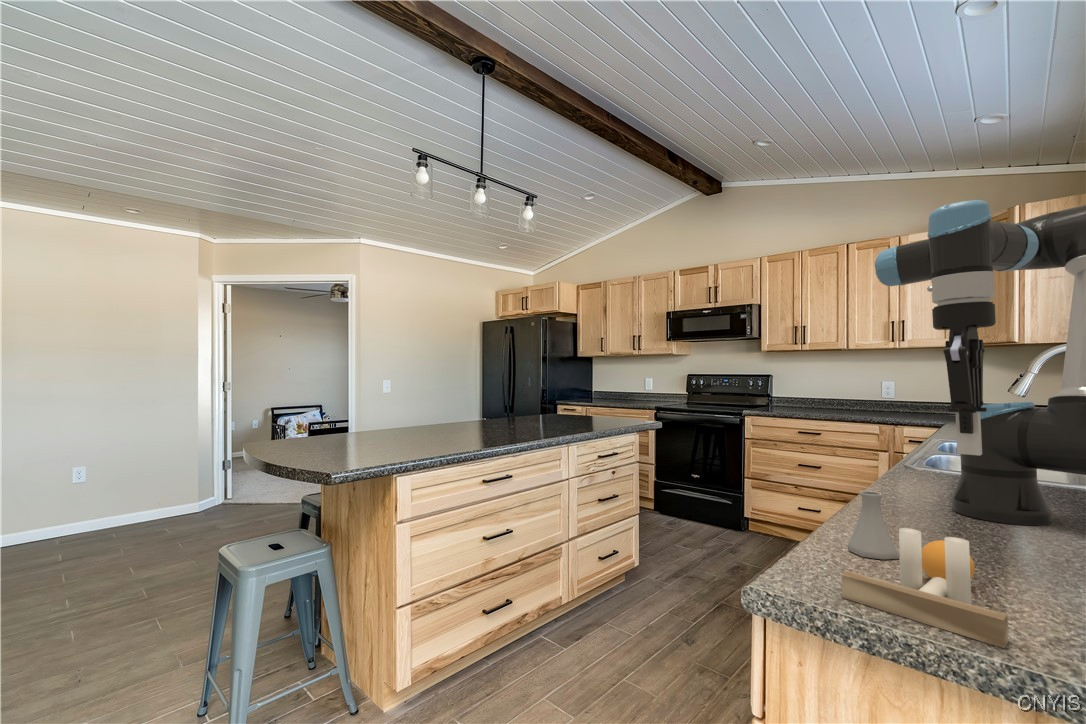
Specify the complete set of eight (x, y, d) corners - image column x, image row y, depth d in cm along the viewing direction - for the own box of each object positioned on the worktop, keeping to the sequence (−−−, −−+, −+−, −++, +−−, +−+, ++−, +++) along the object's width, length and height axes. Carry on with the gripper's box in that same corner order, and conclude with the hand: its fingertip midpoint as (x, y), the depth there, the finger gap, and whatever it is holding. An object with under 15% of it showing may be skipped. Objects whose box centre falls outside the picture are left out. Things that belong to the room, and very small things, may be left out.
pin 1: (903, 589, 68) (902, 526, 69) (925, 595, 66) (923, 531, 67) (898, 594, 67) (896, 530, 67) (919, 600, 65) (917, 534, 65)
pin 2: (949, 601, 64) (947, 535, 65) (973, 608, 63) (971, 540, 63) (944, 607, 63) (942, 539, 63) (969, 614, 61) (966, 544, 61)
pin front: (929, 574, 68) (908, 592, 62) (951, 579, 66) (931, 598, 60) (930, 592, 67) (909, 611, 62) (952, 598, 66) (933, 618, 60)
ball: (912, 578, 70) (927, 580, 73) (967, 591, 65) (980, 592, 68) (913, 534, 71) (927, 537, 74) (967, 544, 66) (980, 547, 70)
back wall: (848, 593, 67) (847, 571, 67) (1008, 642, 55) (1007, 614, 55) (842, 597, 66) (841, 574, 66) (1004, 648, 53) (1003, 620, 54)
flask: (908, 562, 78) (906, 498, 78) (857, 559, 79) (855, 497, 80) (886, 547, 85) (884, 488, 85) (840, 544, 87) (838, 487, 87)
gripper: (943, 308, 85) (950, 446, 84) (920, 303, 77) (927, 456, 76) (1003, 302, 79) (1010, 451, 79) (984, 296, 71) (992, 462, 70)
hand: (969, 453), depth 77 cm, fingers closed
